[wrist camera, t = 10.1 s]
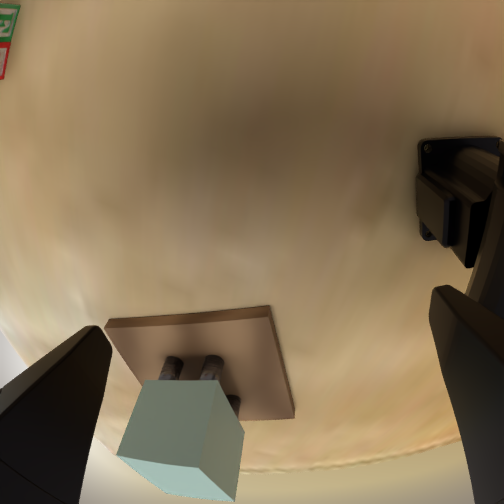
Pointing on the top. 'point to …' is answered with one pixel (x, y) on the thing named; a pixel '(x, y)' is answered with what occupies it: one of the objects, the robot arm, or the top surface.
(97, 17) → the top surface
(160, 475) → the teal block
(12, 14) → the stack of blocks
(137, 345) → the peg stand
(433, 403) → the top surface
